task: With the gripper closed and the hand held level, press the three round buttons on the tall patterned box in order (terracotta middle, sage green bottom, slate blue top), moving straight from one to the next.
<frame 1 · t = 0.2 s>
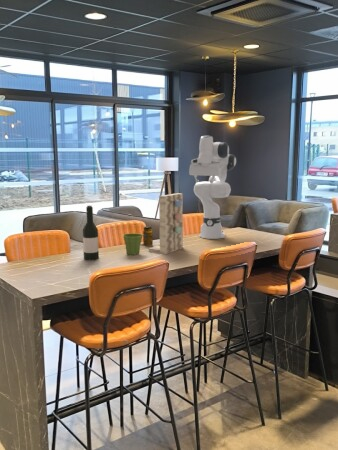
hand: (204, 182, 279), 40 cm above the table, tool pointing down, fingers open, 8 cm apart
condiment: (146, 245, 282), on the table
sage button: (175, 229, 263), point 13 cm above the table, slide at 0.0 cm
wine bottle: (91, 258, 247), on the table
plant pot: (133, 254, 258), on the table
terracotta button: (175, 216, 261), point 21 cm above the table, slide at 0.0 cm
slate button: (175, 203, 260), point 29 cm above the table, slide at 0.0 cm
tall patterned box: (171, 250, 266), on the table
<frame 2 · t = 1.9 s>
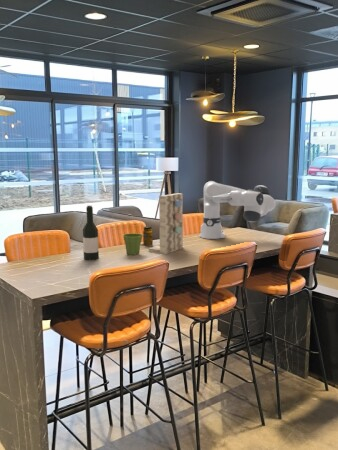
hand: (212, 197, 260), 32 cm above the table, tool horizontal, fingers open, 8 cm apart
nothing on the table moved.
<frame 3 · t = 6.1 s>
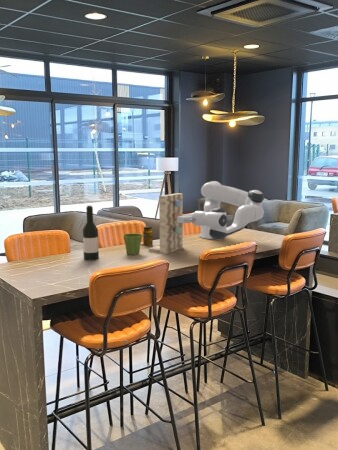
hand: (178, 216, 260), 21 cm above the table, tool horizontal, fingers closed, pressing on terracotta button
terracotta button: (174, 216, 262), point 21 cm above the table, slide at 1.0 cm, touching gripper
everything else where it was.
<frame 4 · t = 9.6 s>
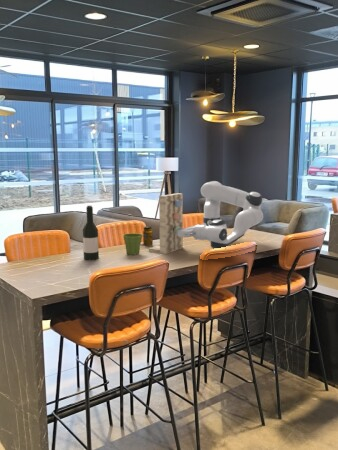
hand: (178, 230, 261), 13 cm above the table, tool horizontal, fingers closed, pressing on sage button
sage button: (174, 229, 263), point 13 cm above the table, slide at 0.6 cm, touching gripper
terracotta button: (173, 216, 262), point 21 cm above the table, slide at 1.2 cm
everything else where it was.
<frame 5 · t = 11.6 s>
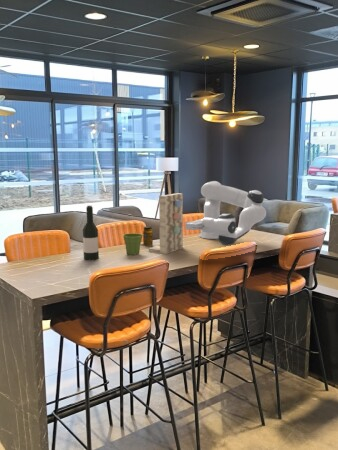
hand: (186, 223, 257), 18 cm above the table, tool horizontal, fingers closed
sage button: (173, 229, 263), point 13 cm above the table, slide at 1.2 cm
everything else where it was.
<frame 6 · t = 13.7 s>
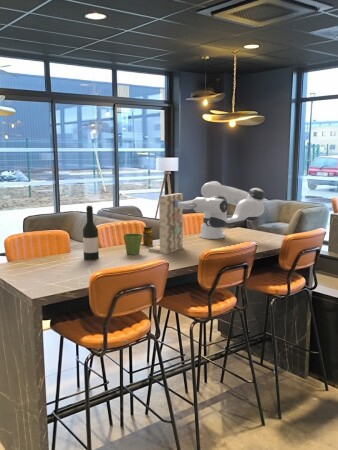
hand: (178, 203, 259), 29 cm above the table, tool horizontal, fingers closed, pressing on slate button
slate button: (174, 203, 260), point 29 cm above the table, slide at 0.5 cm, touching gripper
everything else where it was.
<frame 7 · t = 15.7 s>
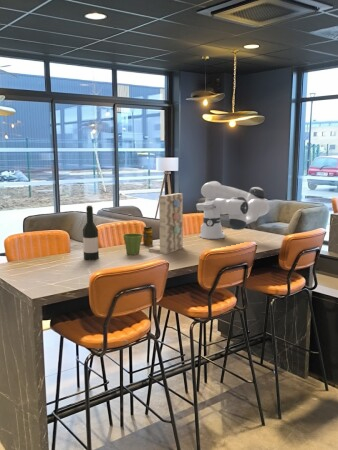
hand: (197, 204, 252), 29 cm above the table, tool horizontal, fingers closed
slate button: (173, 203, 261), point 29 cm above the table, slide at 1.2 cm
everything else where it was.
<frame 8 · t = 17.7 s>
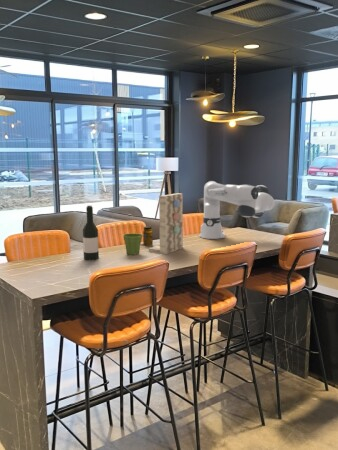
hand: (208, 191, 260), 36 cm above the table, tool horizontal, fingers closed
nothing on the table moved.
at the end: terracotta button slide at 1.2 cm; sage button slide at 1.2 cm; slate button slide at 1.2 cm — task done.
